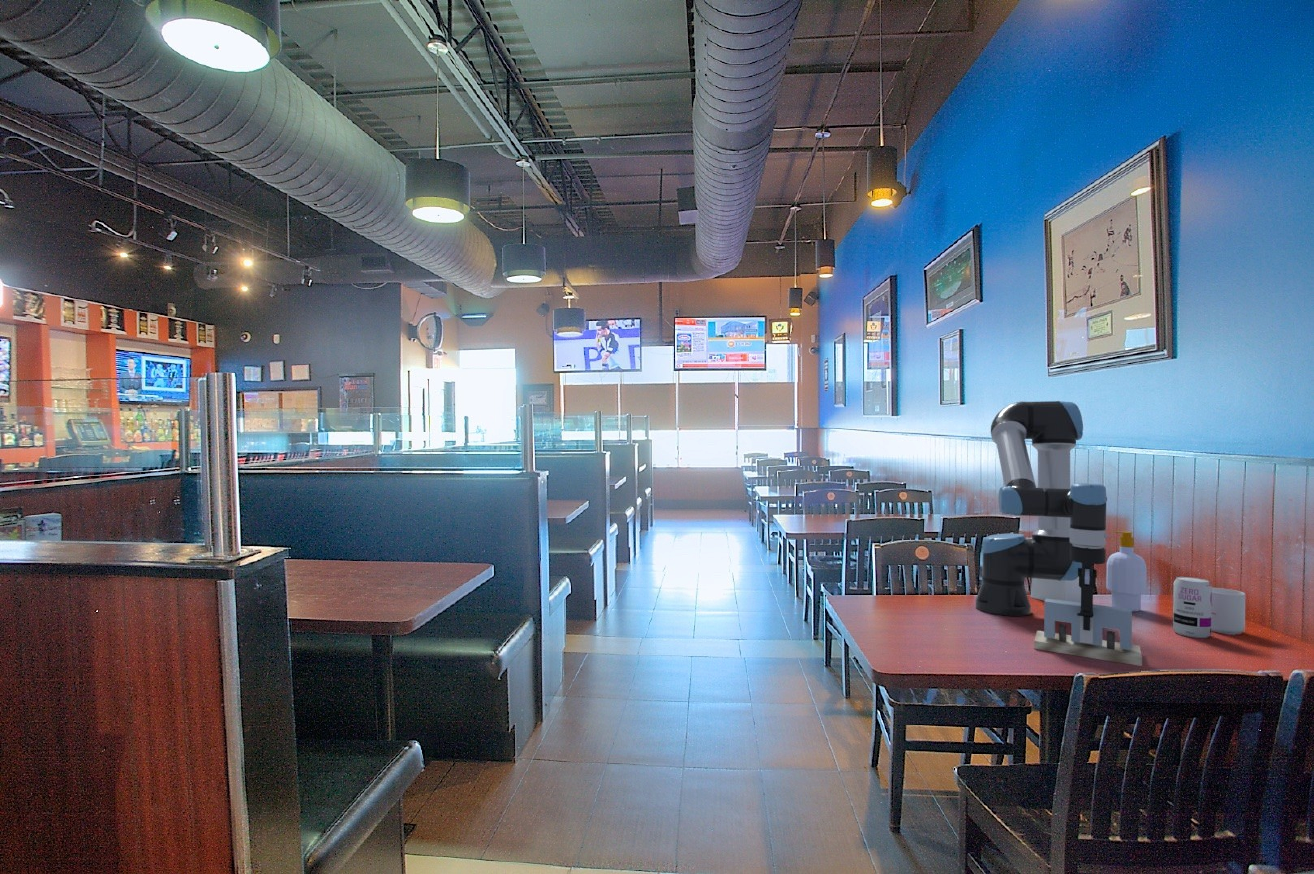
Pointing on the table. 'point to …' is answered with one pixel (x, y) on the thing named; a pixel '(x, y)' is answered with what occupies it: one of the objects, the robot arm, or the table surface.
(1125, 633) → the notched panel
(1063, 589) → the milk
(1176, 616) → the supplement can
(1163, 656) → the table surface
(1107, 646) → the pegged base plate
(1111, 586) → the soap bottle
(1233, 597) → the mug
